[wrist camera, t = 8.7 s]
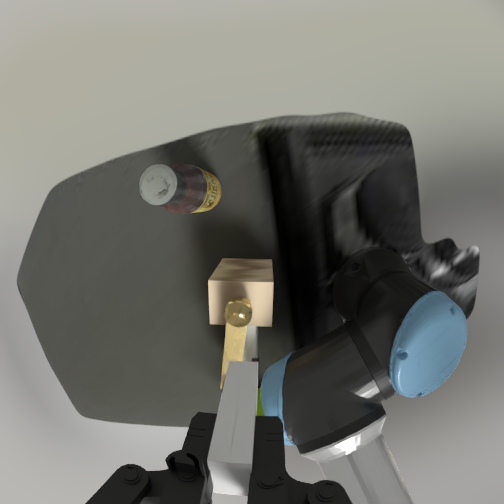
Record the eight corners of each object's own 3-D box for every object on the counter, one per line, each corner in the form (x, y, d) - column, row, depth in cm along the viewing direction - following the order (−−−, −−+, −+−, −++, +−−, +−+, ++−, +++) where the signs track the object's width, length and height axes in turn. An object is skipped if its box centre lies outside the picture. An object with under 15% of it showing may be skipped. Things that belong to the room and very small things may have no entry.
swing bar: (227, 295, 33) (223, 305, 30) (254, 299, 33) (253, 309, 30) (219, 381, 36) (215, 395, 32) (242, 384, 35) (240, 399, 32)
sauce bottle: (224, 209, 44) (192, 222, 25) (186, 211, 45) (131, 226, 25) (222, 168, 43) (188, 151, 24) (184, 172, 43) (127, 159, 24)
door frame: (271, 259, 46) (274, 289, 31) (267, 362, 50) (267, 416, 35) (222, 258, 46) (203, 287, 32) (225, 361, 50) (212, 413, 36)
